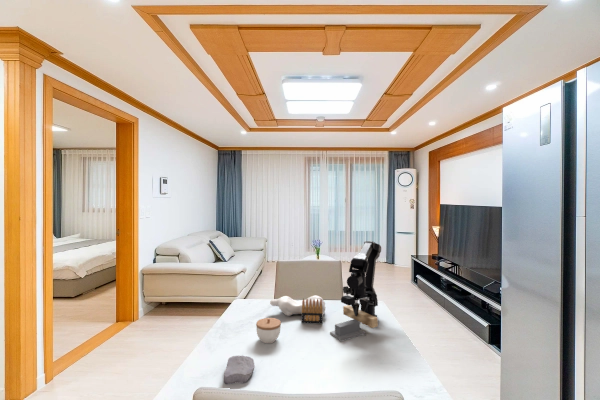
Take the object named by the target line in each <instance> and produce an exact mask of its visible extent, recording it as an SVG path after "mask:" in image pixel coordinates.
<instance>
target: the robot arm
mask: <svg viewBox="0 0 600 400" xmlns="http://www.w3.org/2000/svg"><path fill="white" fill-rule="evenodd" d="M381 252H382V246H381V245H380V244H379V243H376V242H375V241H372V240H364V242H363V245H362V248H361V250H360V252H359V253H357V254H356V255H354V256H353V257H352V259H351V261H350V263H349V264H350V265H349V268H348V269H349V270H348V273H350V275H349V276H348V278H347V280H346V284H347V286H343V287H342V293H343V294H345V295H343V296H341V297H340V303H342V304H345V306H347V305H349V306H352V308H353V311H354V314H355V316H356V317H357V315H358V311H359V310H361V311H363V312H366V313H368V314H370V315H372V316H375V317H377V316H378V315H377V314H376V307H378V306H379V305H378V304H379V300H378V295H377V292H376V291H375V287H374V282H375V275H376V273H375V272H376V264H377V260H378V259H379V258H380V255H381ZM377 318H378V317H377Z"/></svg>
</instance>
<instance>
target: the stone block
mask: <svg viewBox="0 0 600 400" xmlns="http://www.w3.org/2000/svg"><path fill="white" fill-rule="evenodd" d="M255 367H256V366H255V361H254V359H253V358H252V357H251V356H245V355H233V356H230V357H229V358H228V359H227V363H226V367H225V370H224V372H223V373H224V374H223V382H224V383H225V384H226V385H228V384H229V385H230V384H232V385H233V384H245V383H247V381H248V380H249V379H250V378H251V376H252V374H253V371H254V370H255Z"/></svg>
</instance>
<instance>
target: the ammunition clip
mask: <svg viewBox="0 0 600 400" xmlns="http://www.w3.org/2000/svg"><path fill="white" fill-rule="evenodd" d="M302 300H303V301H302ZM302 300H301V301H302V314H301V320H300V321H301V324H321V325H323V324H324V323H323V321H324V320H323V315H324V314H323V308H322V300H320V307H319V302H318V299H317V302H316V307H315V299H314V300H313V307H312V301H311V299H310V302H309V307H308V298H306V299H304V298H302ZM304 300H306V307H305V301H304Z"/></svg>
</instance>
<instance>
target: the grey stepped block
mask: <svg viewBox="0 0 600 400" xmlns="http://www.w3.org/2000/svg"><path fill="white" fill-rule="evenodd" d="M365 334H366V332H365V330H364V329H363V330H362V329H361V323H360V321H358V320H356V319H350V320H348V321H343V322H338V323H335V324H334V330H331V331H330V332H329V335H332V336H333V337H334V338H336V339H337V340H338V341H340V342H343V341H346V340H349V339H353V338H356V337H359V336H362V335H365Z"/></svg>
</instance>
